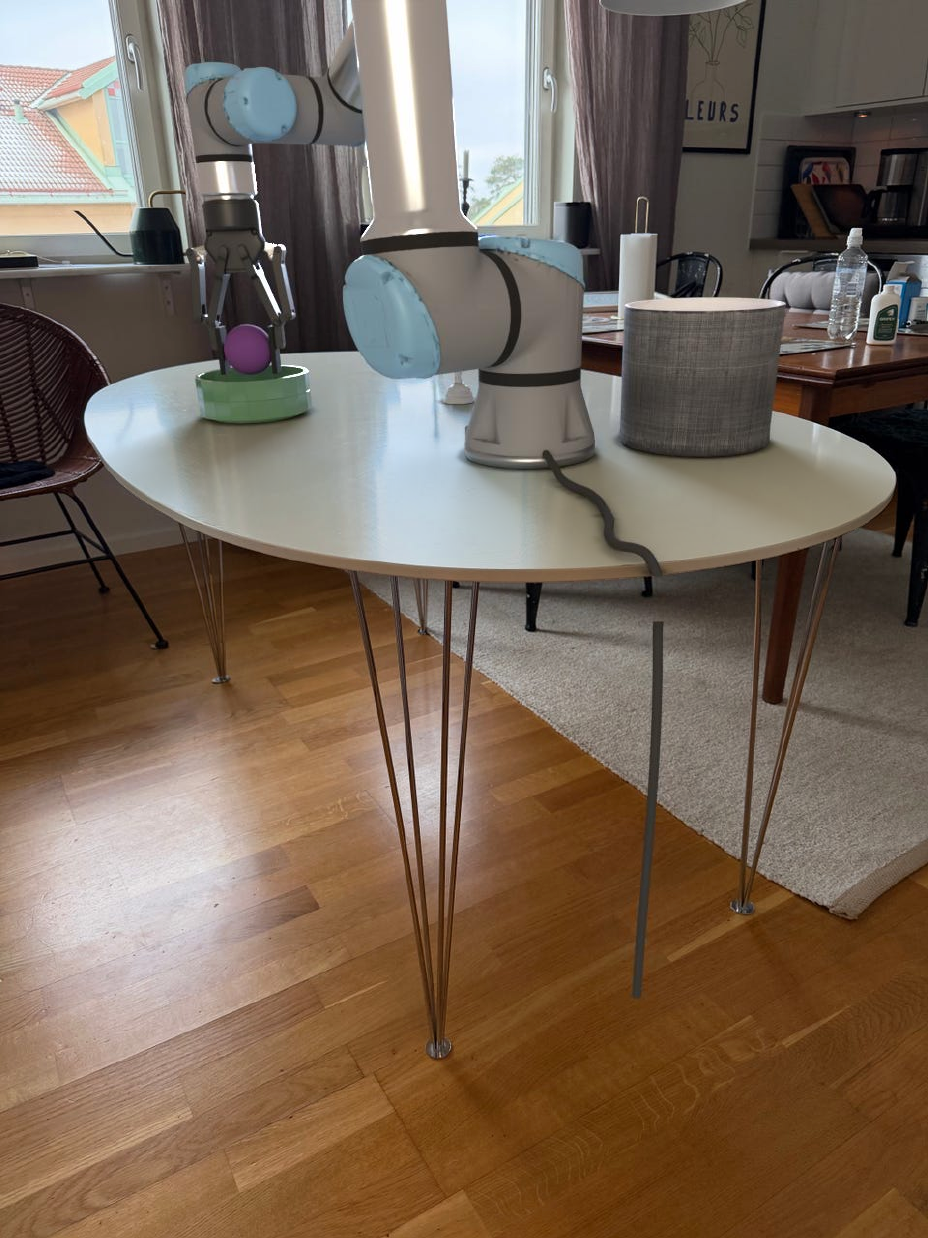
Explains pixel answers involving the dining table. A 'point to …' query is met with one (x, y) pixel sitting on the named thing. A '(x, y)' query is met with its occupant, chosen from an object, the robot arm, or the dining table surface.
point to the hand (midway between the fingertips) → (251, 372)
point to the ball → (247, 349)
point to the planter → (699, 375)
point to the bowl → (253, 395)
